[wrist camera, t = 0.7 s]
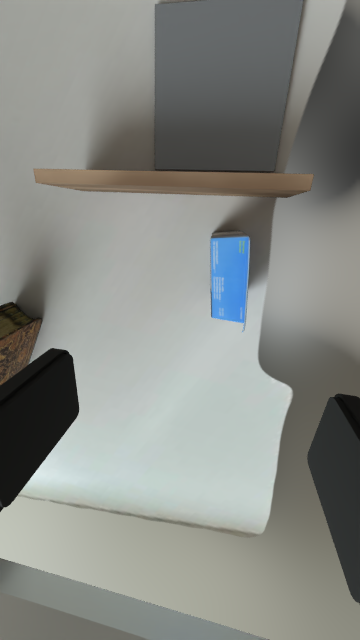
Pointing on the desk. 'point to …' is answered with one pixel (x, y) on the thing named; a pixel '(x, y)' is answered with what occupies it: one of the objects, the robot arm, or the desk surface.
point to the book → (16, 340)
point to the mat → (222, 82)
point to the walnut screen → (178, 182)
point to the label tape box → (229, 275)
